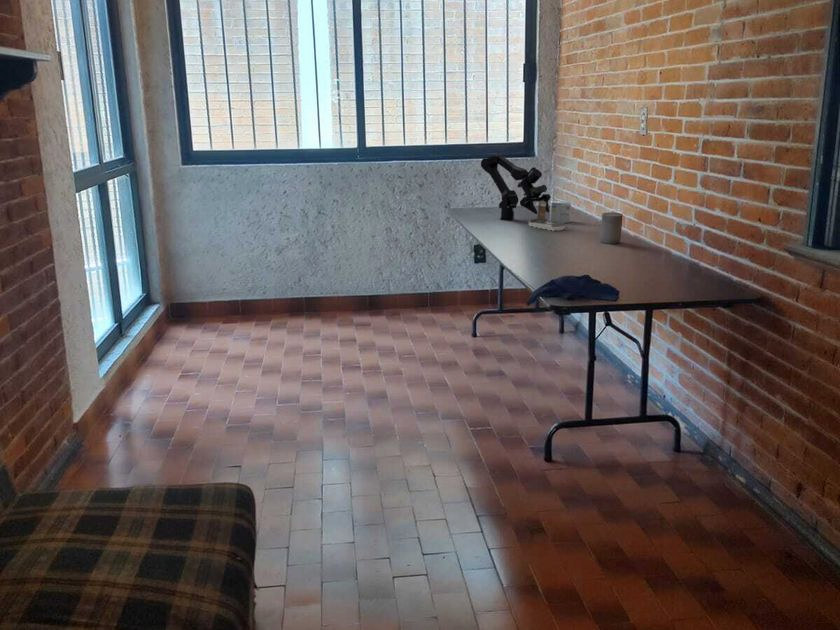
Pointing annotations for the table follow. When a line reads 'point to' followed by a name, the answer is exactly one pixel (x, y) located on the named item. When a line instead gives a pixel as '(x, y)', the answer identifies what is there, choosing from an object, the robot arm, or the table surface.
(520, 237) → the table surface
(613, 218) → the pillar candle
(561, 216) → the light bulb box
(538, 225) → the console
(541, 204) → the fader
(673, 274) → the table surface
